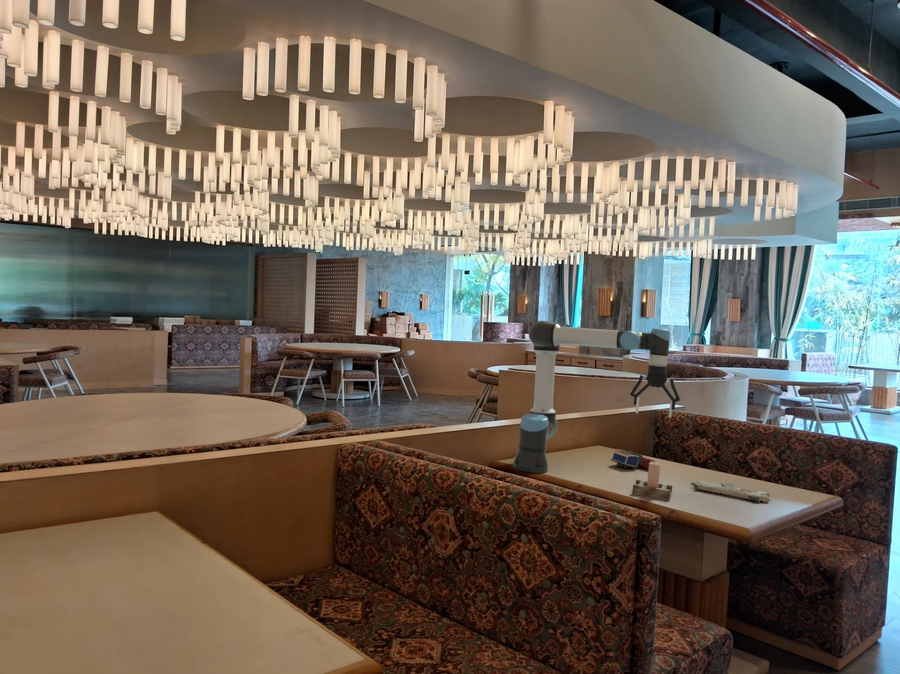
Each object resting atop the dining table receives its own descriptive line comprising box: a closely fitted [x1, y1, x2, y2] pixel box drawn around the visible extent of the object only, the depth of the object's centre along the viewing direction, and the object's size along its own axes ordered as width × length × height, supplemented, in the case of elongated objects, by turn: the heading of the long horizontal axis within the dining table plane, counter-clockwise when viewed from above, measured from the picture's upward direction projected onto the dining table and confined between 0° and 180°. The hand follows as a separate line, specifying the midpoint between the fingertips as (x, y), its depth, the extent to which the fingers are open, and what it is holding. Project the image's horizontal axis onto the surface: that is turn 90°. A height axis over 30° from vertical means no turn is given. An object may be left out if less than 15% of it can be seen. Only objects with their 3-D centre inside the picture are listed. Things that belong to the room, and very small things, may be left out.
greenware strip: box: [646, 461, 662, 488], centre depth 267 cm, size 4×5×11 cm
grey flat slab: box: [690, 480, 771, 503], centre depth 280 cm, size 30×3×20 cm
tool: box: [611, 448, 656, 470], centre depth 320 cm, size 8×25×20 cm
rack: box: [631, 479, 673, 501], centre depth 267 cm, size 14×12×4 cm
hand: (653, 415), depth 286 cm, fingers open, 13 cm apart
